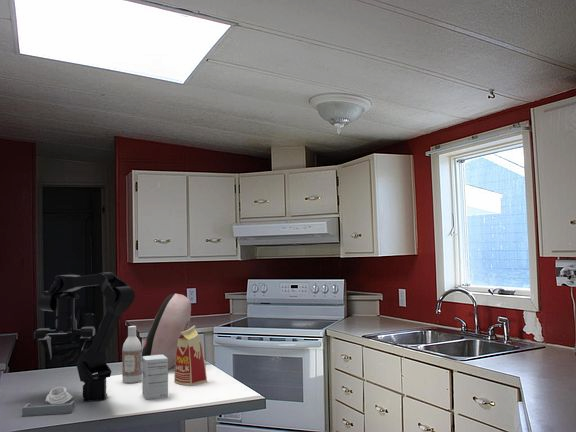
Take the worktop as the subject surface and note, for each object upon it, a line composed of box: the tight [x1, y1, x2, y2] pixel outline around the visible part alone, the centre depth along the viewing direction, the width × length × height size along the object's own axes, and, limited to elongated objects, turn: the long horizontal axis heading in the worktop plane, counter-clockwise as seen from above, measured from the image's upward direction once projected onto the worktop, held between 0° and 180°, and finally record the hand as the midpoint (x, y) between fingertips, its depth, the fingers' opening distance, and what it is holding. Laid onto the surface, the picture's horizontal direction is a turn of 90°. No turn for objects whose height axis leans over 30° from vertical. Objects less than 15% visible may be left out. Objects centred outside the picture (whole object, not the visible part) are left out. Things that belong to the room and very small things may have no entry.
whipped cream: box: [45, 386, 74, 405], centre depth 175 cm, size 8×7×5 cm
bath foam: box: [121, 325, 143, 384], centre depth 201 cm, size 7×7×20 cm
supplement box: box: [141, 355, 169, 400], centre depth 180 cm, size 7×7×13 cm
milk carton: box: [173, 325, 208, 386], centre depth 198 cm, size 9×9×20 cm
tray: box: [21, 399, 76, 417], centre depth 163 cm, size 14×5×2 cm, turn 99°
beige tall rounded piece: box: [142, 293, 192, 370], centre depth 225 cm, size 22×20×30 cm
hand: (64, 358), depth 184 cm, fingers open, 9 cm apart
